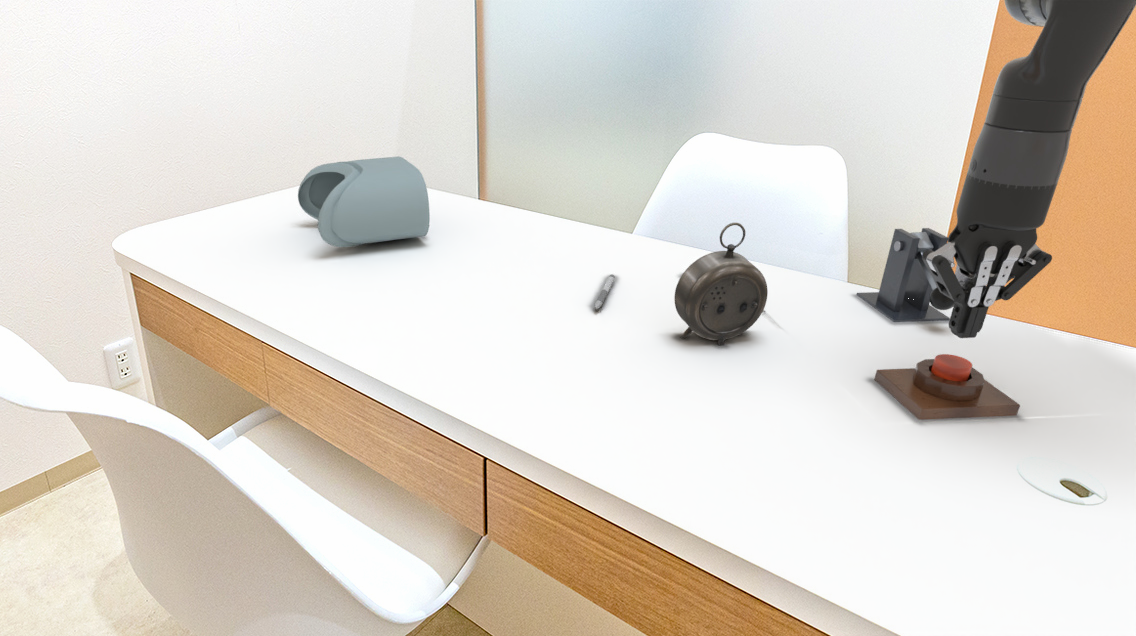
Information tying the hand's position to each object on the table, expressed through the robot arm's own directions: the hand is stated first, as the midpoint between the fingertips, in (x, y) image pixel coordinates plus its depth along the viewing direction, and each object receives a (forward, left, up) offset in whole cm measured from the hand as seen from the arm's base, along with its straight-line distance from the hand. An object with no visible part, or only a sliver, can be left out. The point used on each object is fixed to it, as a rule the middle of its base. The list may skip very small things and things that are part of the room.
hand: (962, 334), depth 81 cm
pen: (+31, -34, -9) cm, 47 cm away
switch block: (0, 0, -9) cm, 9 cm away
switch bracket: (-10, -25, -9) cm, 28 cm away
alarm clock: (+20, -17, -9) cm, 28 cm away
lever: (-10, -22, -2) cm, 24 cm away
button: (0, 0, -5) cm, 5 cm away
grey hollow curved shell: (+69, -66, -9) cm, 96 cm away
